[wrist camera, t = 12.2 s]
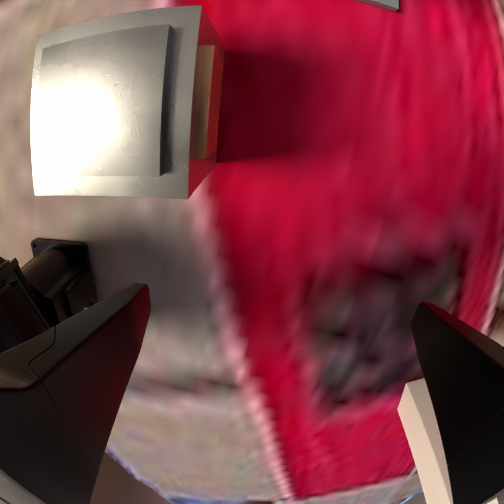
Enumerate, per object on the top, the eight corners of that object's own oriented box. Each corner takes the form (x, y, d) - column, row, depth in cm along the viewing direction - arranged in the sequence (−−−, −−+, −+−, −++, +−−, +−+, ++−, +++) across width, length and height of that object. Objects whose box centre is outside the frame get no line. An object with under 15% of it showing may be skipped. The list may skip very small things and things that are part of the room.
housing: (110, 161, 20) (27, 199, 11) (114, 56, 16) (30, 34, 8) (222, 163, 20) (194, 204, 11) (231, 50, 16) (210, 0, 8)
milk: (405, 382, 30) (459, 544, 10) (447, 369, 29) (511, 515, 10) (396, 409, 32) (436, 552, 13) (435, 398, 32) (484, 529, 12)
